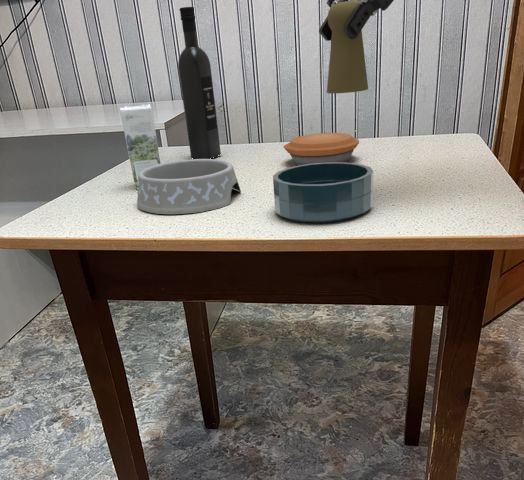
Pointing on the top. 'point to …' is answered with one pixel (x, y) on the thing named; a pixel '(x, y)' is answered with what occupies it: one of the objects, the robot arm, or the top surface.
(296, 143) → the pie
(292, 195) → the bowl
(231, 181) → the dog bowl
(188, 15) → the wine bottle
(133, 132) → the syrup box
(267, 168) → the top surface
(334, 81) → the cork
